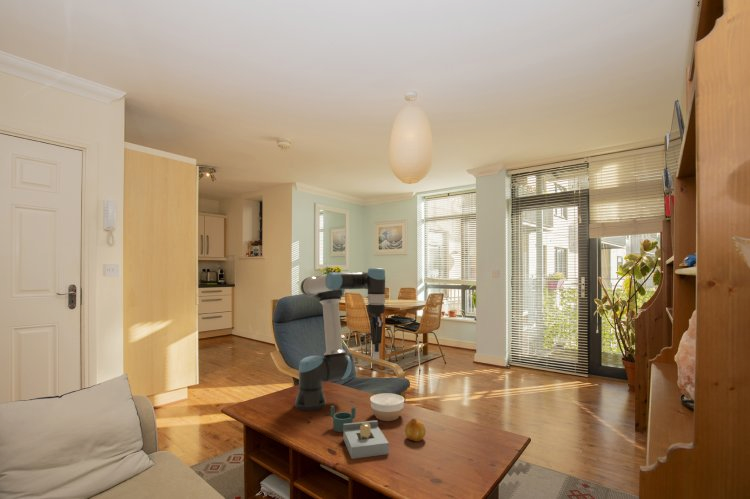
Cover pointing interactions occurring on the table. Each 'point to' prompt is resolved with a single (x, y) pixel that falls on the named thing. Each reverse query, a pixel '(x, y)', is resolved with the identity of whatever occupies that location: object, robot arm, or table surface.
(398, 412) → the bowl
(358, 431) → the jig
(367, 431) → the brass cylinder
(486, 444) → the table surface
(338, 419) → the bracket
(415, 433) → the fruit
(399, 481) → the table surface
